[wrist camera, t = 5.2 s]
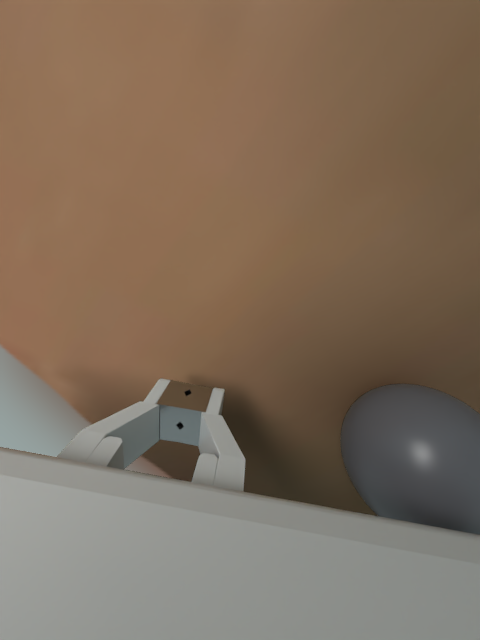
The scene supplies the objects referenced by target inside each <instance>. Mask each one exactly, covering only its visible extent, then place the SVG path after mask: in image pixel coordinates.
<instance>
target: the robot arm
mask: <svg viewBox="0 0 480 640" xmlns="http://www.w3.org/2000/svg"><path fill="white" fill-rule="evenodd" d="M224 394H225V389H221V388H212V387H206V386H200V385H194V384H189V383H184V382H179V381H173V380H167V379H162V378H161V379H159V380H158V381H157V383H156V384H155V386H154V387H153V389H152V390H151V391H150V393H149V394H148V396H147V397H146V398H145V400H144V401H143V402H138V403H135V404H133V405H131V406H129V407H127V408H125V409H123V410H121V411H119V412H117V413H115V414H113V415H111V416H109V417H107V418H105V419H103V420H101V421H99V422H97V423H95V424H92V425H90V426H88V427H86V428H85V429H83V430H81V431H80V432H79V433H78V434H77V435H76V436H75V438H74V439H73V440H72V441H71V442H70V443H69V444H68V445H67V446H66V447H65V449H63V451H62V452H61V453H60V454H59V455H58V456H57V457H52V456H47V455H41V454H36V453H30V452H25V451H19V450H13V449H9V448H3V447H0V640H480V535H478V534H472V533H467V532H462V531H456V530H451V529H445V528H440V527H434V526H429V525H423V524H418V523H412V522H407V521H401V520H396V519H390V518H385V517H380V516H374V515H369V514H363V513H358V512H352V511H347V510H341V509H336V508H330V507H325V506H320V505H314V504H309V503H303V502H298V501H292V500H287V499H281V498H276V497H270V496H265V495H260V494H254V493H249V492H243V489H244V474H245V460H246V459H245V458H244V456H243V454H242V452H241V450H240V448H239V446H238V444H237V443H236V441H235V439H234V437H233V435H232V433H231V431H230V429H229V428H228V426H227V424H226V422H225V420H224V418H223V416H221V415H222V408H223V401H224ZM159 439H161V440H168V441H175V442H181V443H185V444H190V445H195V446H199V451H200V454H201V455H199V458H198V461H197V465H196V468H195V471H194V475H193V478H192V481H191V482H189V481H183V480H178V479H172V478H167V477H161V476H156V475H151V474H145V473H140V472H134V471H129V470H124V469H125V468H126V467H127V466H128V465H129V464H131V463H132V462H133V461H134V460H136V459H137V458H138V457H139V456H141V455H142V454H143V453H144V452H146V451H147V450H148V449H149V448H150V447H152V446H153V445H154V444H155V443H157V442H158V441H159Z"/></svg>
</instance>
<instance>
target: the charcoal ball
mask: <svg viewBox="0 0 480 640" xmlns="http://www.w3.org/2000/svg"><path fill="white" fill-rule="evenodd" d="M340 442H341V452H342V457H343V461H344V465H345V468H346V470H347V473H348V475H349V477H350V479H351V481H352V483H353V485H354V487H355V488H356V490H357V491H358V493H359V494H360V496H361V497H362V498H363V500H364V501H365V502H366V504H367V505H368V506H369V507H370V508H371V509H372V510H373V511H374V512H375V513H376V514H377V515H378V516H380V517H385V518H390V519H396V520H401V521H407V522H412V523H418V524H423V525H429V526H434V527H440V528H445V529H451V530H456V531H462V532H467V533H472V534H478V535H480V414H479V413H478V412H476V411H475V410H474V409H472V408H471V407H470V406H468V405H467V404H465V403H464V402H462V401H460V400H458V399H457V398H455V397H453V396H451V395H449V394H446V393H444V392H441V391H439V390H436V389H433V388H429V387H425V386H420V385H414V384H390V385H385V386H381V387H378V388H375V389H373V390H370V391H368V392H367V393H365V394H364V395H362V396H361V397H360V398H358V399H357V400H356V401H355V402H354V403H353V404H352V406H351V407H350V409H349V410H348V412H347V414H346V416H345V418H344V421H343V424H342V429H341V439H340Z"/></svg>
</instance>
